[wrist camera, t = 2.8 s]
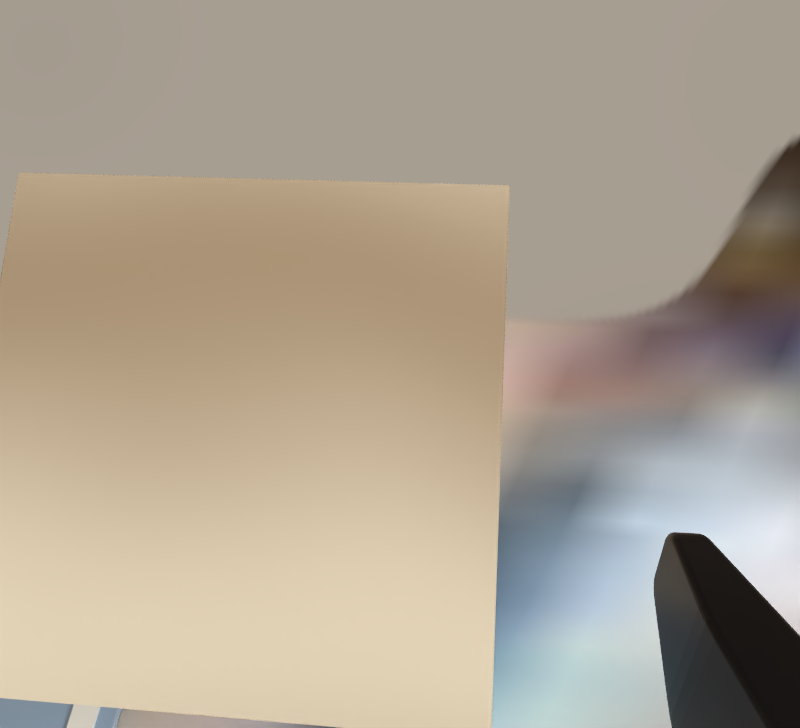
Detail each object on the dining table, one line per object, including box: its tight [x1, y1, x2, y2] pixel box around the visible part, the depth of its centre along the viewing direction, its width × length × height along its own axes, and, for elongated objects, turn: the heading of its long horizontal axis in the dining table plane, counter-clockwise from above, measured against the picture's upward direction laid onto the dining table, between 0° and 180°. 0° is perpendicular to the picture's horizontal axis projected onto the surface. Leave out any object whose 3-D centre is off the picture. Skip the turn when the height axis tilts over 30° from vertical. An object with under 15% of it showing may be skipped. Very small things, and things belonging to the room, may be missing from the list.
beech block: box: [0, 173, 510, 728], centre depth 12 cm, size 4×4×12 cm
